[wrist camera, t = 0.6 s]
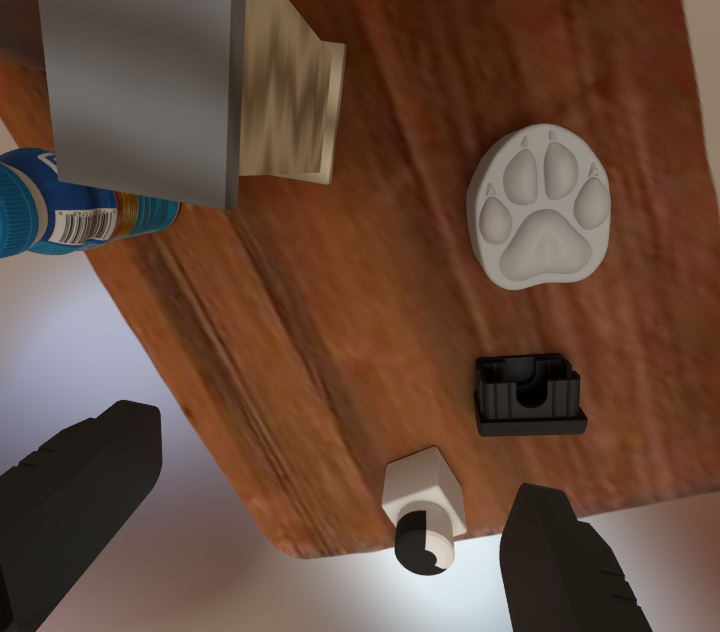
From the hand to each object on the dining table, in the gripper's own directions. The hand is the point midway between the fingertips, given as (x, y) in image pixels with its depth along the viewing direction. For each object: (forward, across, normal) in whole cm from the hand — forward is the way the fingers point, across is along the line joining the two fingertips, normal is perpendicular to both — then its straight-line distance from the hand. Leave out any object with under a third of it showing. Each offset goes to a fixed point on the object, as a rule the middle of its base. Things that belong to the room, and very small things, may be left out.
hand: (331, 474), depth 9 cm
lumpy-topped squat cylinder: (+36, +11, +4) cm, 38 cm away
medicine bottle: (+36, +8, -30) cm, 47 cm away
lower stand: (+36, -13, +9) cm, 39 cm away
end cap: (+36, +16, -15) cm, 42 cm away
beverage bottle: (+36, -28, -1) cm, 46 cm away
